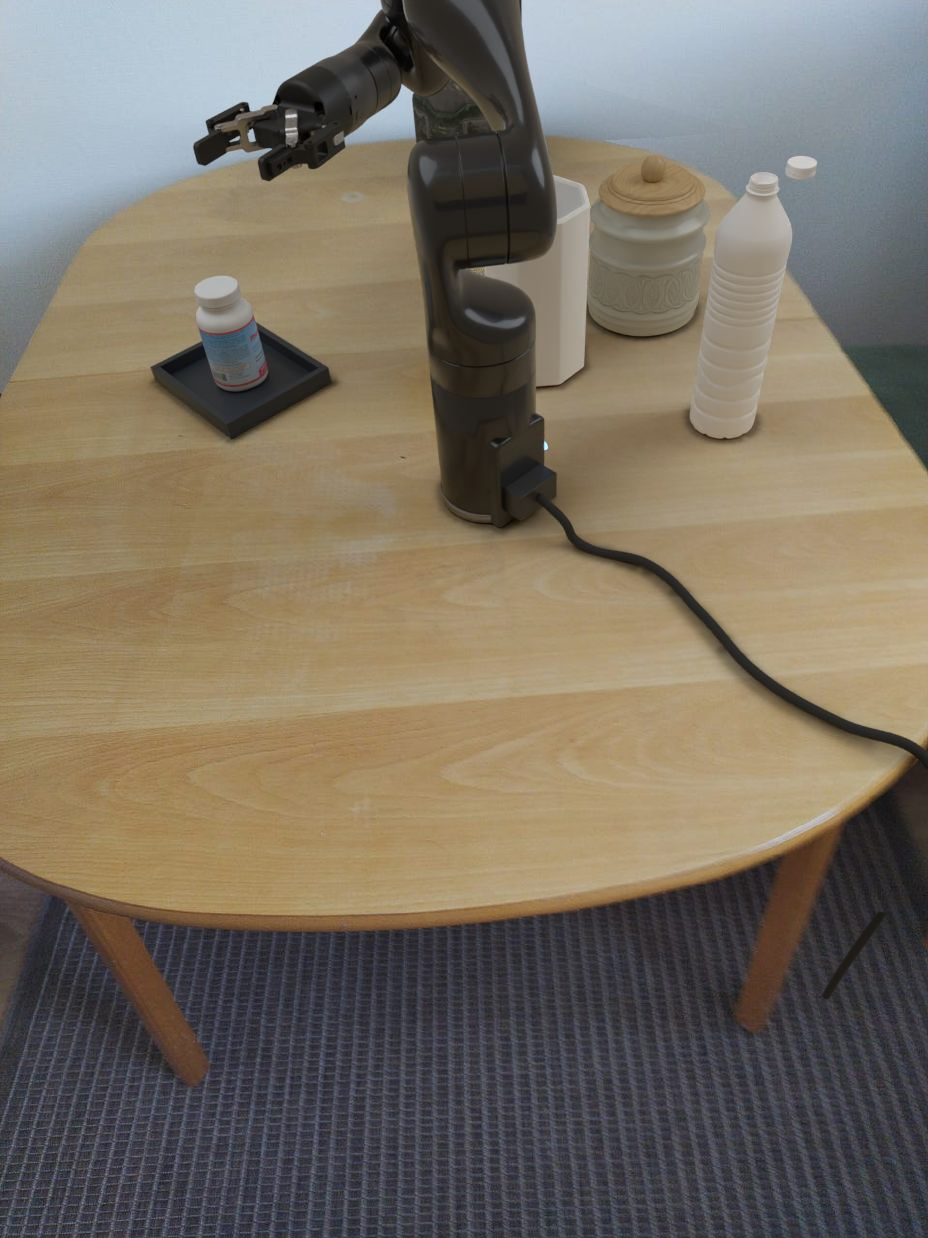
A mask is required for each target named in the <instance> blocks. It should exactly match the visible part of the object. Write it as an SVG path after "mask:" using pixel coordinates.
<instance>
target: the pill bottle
mask: <svg viewBox="0 0 928 1238" xmlns="http://www.w3.org/2000/svg"><path fill="white" fill-rule="evenodd" d="M194 296H195V300H196V303H197V305H198V306H199V307H198V308H197V310H196V312H195V322H196V325H197V329H198V333H199V335H200V338H201V339H200V340H201V341H202V342H203V345H204V348H205V352H206V355H207V358H208V361H209V364H210V368H211V371H212V374H213V377H214V380H215V382H216V384H217V385H218V386H219V387H220V388H222V389H224V390H227V391H233V392H238V391H244V390H248V389H250V388H253V387H255V386H257V385H259V384H260V383H262V382H263V381H264V380H265V378H266V377H267V374H268V368H267V364H266V360H265V356H264V352H263V349H262V345H261V341H260V337H259V333H258V329H257V326H256V322H257V321H256V319H255V315H254V312H253V308H252V306H251V304H250V303H249V301H247V299H245V298H243V297H242V291H241V289H240V285H239V282H238V280H237V279H236V278H235V277H232V276H229V275H215V276H210V277H207V278H205V279H203V280H200V281H199V282H198V283H197V284H196V285H195V287H194Z"/></svg>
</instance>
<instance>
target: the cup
mask: <svg viewBox="0 0 928 1238" xmlns="http://www.w3.org/2000/svg"><path fill="white" fill-rule="evenodd" d="M553 177H554V184H555V191H556V202H557V228H556V234H555V238H554V242H553V244H552V246H551V248H550V250H549V251H548V252H547V254H545V255H544V256H543V257H541V258H538V259H535V260H531V261H527V262H522V263H515V264H505V265H498V266H489V267H483V270H484V271H483V273H484V274H483V275H484V276H487V277H491V278H495V279H499V280H502V281H505V282H508V283H510V284H513V285H515V286H516V287H518V288H520V289H521V290H523V291H524V292H525V293H526V294H527V295H528V296H529V298H530V299H531V301H532V303H533V305H534V308H535V314H536V387H547V386H559V385H561V384H563V383H564V382H565V381H566V380H568V379H569V378H571V377H572V376H574V375H576V373H578V372H579V371H580V370H581V369H583V368H584V366H585V354H586V353H585V351H586V330H587V329H586V328H587V327H586V325H587V324H586V323H587V304H588V302H587V287H588V279H589V253H590V247H589V238H590V224H591V217H590V209H591V203H590V200H589V196H588V192H587V189H586V186H584V184H582V183H579V182H577V181H574V180H571V179H568V178H564V177H562V176H560V175H559V176H558V175H555V174H553Z"/></svg>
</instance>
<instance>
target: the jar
mask: <svg viewBox="0 0 928 1238" xmlns="http://www.w3.org/2000/svg"><path fill="white" fill-rule="evenodd" d="M705 195H706V187H705V184H704V183H703V181H702V180H701V179H700V178H699V177H697V176H696V175H694V174H692V172H690V171H689V170H687V169H686V168H685V167H683V166H680V165H677V164H675V163H670V162H666V161H665V159H664V158H663V157H662V156H661V155H659V154H651V155H649V156H646V158H645V159H644V160H643V161H641V162H636V163H632V164H629V165H628V164H627V165H625V166H623V167H622V168H620V169H618V170H616V172H614V173H612V174H610V175H609V176H607V177H606V178H604V180H602V182H601V183H600V185H599V187H598V197H597V199H595V201H594V202H593V203H592V205H591V206H590V221H591V222H592V224H593V230H592V232H591V233H590V234H589V266H588V283H587V306H588V312H589V315H590V316H591V318H592V319H593V320H594V321H595V322H596V323H597V324H598V325H599V326H601V327H602V328H605V329H606V330H609V331H611V332H615V333H617V334H621V335H626V336H633V337H652V336H653V337H654V336H658V335H659V336H660V335H663V334H668V333H671V332H674V331H677V330H678V329H680V328H682V327H683V326H685V325H686V324H688V323H689V322H690V321H691V320H692V318H693V316H694V314H695V311H696V308H697V307H698V303H699V299H700V294H701V293H700V292H701V291H700V280H701V273H702V266H703V259H704V251H705V250H706V247H707V237H706V234H705V233H704V227H705V226H706V225H707V224H708V222H709V221H710V218H711V209H710V206H709V204H708V202H707V201H706V200H705V199H704V198H705V197H706V196H705Z"/></svg>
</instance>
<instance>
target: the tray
mask: <svg viewBox="0 0 928 1238" xmlns="http://www.w3.org/2000/svg"><path fill="white" fill-rule="evenodd" d="M255 322H256V326H257V329H258V333H259V337H260V341H261V345H262V349H263V352H264V356H265V360H266V364H267V368H268V374H267V377H266V378H265V380H264V381H263V382H262V383H260V384H259V385H257V386H255V387H253V388H250V389H248V390H244V391H238V392H233V391H227V390H224V389H222V388H220V387H219V386H218V385H217V384H216V382H215V380H214V377H213V374H212V371H211V368H210V364H209V361H208V358H207V355H206V352H205V348H204V345H203V342H202V340H201V341H198V342H197V343H195V344H193V345H191V346H189V347H187V348H185V349H183V350H181V351H179V352H177V353H175V354H172V355H171V356H169V357H167V358H166V359H163V360H161V361H159V362H157V363H155V364H154V365H151V366H150V370H151V373H152V376H153V379H154V381H155V383H157V384H158V385H159V386H160V387H162V388H163V389H165V391H167V392H168V393H169V394H171V395H173V396H174V397H175V398H177V400H179V401H180V402H182V403H183V404H184V405H186V406H187V407H189V408H190V409H191V410H192V411H193V412H195V413H196V414H198V415H199V416H200V417H202V418H203V419H204V420H206V421H207V422H208V423H210V424H211V425H212V426H213V427H214V428H216V429H218V430H219V431H220V432H222V433H223V434H224V435H225V436H226V437H228V438H229V439H231V440H233V439H235V438H236V437H238V436H240V435H241V434H243V433H245V432H247V431H249V430H250V429H253V428H254V427H256V426H257V425H259V424H261V423H263V422H265V421H267V420H268V419H270V418H271V417H273V416H275V415H277V414H279V413H281V412H282V411H284V410H286V409H287V408H289V407H291V406H293V405H295V404H297V403H298V402H300V401H302V400H303V399H305V398H307V397H309V396H311V395H312V394H314V393H316V392H317V391H319V390H321V389H323V388H324V387H325V388H326V386H328V385H330V384H331V383H332V378H331V373H330V368H329V367H328V366H327V365H325V364H324V363H322V362H321V361H319V360H317V359H316V358H314V357H312V356H311V355H309V354H308V353H307V352H305V351H303V350H301V349H299V347H296V346H295V345H294V344H292V343H290V342H288V341H287V340H285V339H284V338H282V337H281V336H279V335H277V334H276V333H274V332H273V331H272V330H270V329H268V328H266V327H265V326H263V325H262V324H260V323H259V322H257V321H255Z"/></svg>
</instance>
